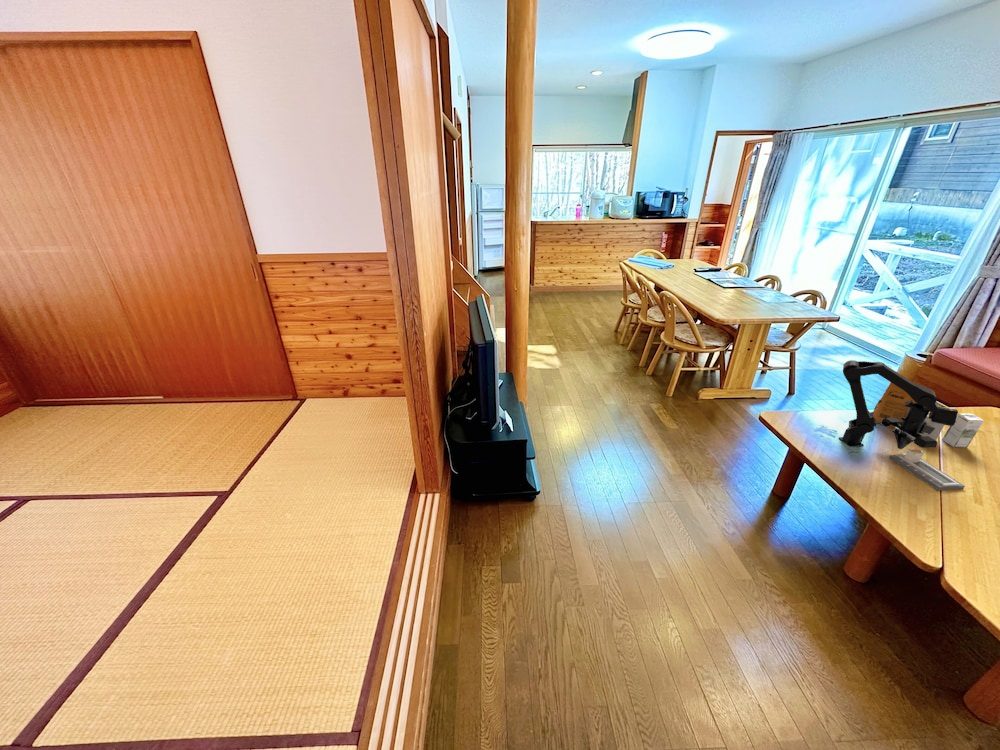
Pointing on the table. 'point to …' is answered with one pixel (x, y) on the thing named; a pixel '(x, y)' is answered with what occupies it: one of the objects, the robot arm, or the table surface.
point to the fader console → (928, 473)
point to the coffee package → (892, 404)
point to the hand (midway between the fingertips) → (899, 448)
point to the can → (936, 431)
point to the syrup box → (963, 430)
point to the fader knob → (914, 455)
